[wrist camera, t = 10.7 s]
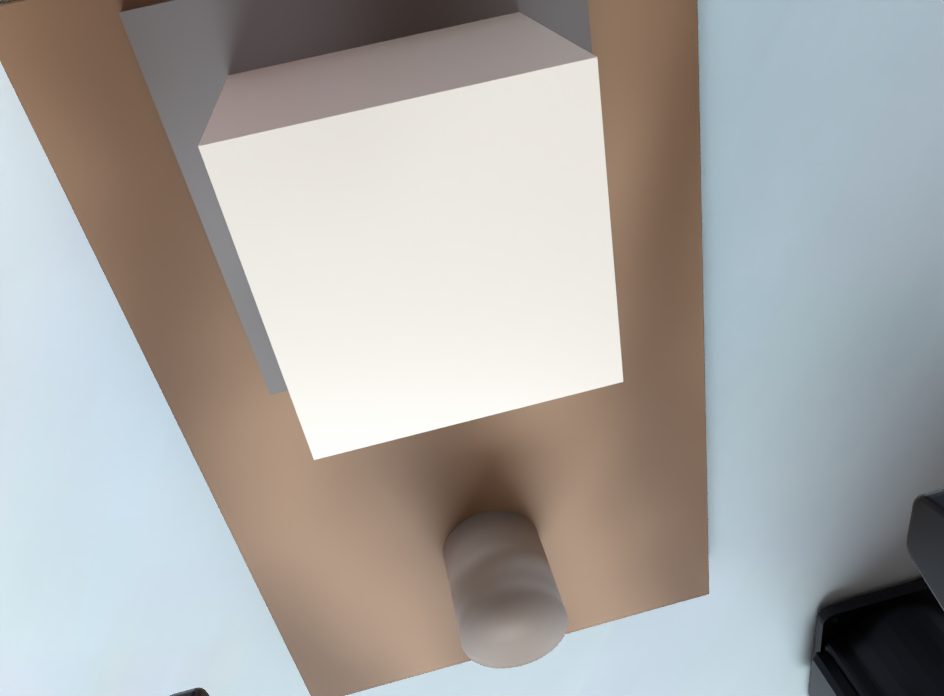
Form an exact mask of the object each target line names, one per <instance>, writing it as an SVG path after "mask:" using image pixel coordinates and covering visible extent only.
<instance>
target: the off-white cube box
mask: <svg viewBox="0 0 944 696" xmlns="http://www.w3.org/2000/svg"><path fill="white" fill-rule="evenodd" d="M198 148H199V150H200V153H201V156H202V158H203V161H204V164H205V167H206V169H207V172H208V175H209V177H210V180H211V183H212V185H213V188H214V191H215V194H216V196H217V199H218V202H219V204H220V207H221V210H222V213H223V215H224V218H225V221H226V223H227V226H228V229H229V231H230V234H231V237H232V240H233V242H234V245H235V248H236V250H237V253H238V256H239V259H240V261H241V264H242V267H243V269H244V272H245V275H246V277H247V280H248V283H249V286H250V288H251V291H252V294H253V296H254V299H255V302H256V305H257V307H258V310H259V313H260V315H261V318H262V321H263V323H264V326H265V329H266V332H267V334H268V337H269V340H270V342H271V345H272V348H273V351H274V353H275V356H276V359H277V361H278V364H279V367H280V369H281V372H282V375H283V378H284V380H285V383H286V386H287V388H288V391H289V394H290V397H291V399H292V402H293V405H294V407H295V410H296V413H297V415H298V418H299V421H300V424H301V426H302V429H303V432H304V434H305V437H306V440H307V443H308V445H309V448H310V451H311V453H312V456H313V459H314V460H316V459H320V458H324V457H328V456H332V455H336V454H340V453H344V452H348V451H352V450H356V449H360V448H364V447H368V446H372V445H376V444H380V443H384V442H388V441H392V440H396V439H399V438H403V437H407V436H411V435H415V434H419V433H423V432H427V431H431V430H435V429H439V428H443V427H447V426H451V425H455V424H459V423H463V422H467V421H471V420H475V419H479V418H482V417H486V416H490V415H494V414H498V413H502V412H506V411H510V410H514V409H518V408H522V407H526V406H530V405H534V404H538V403H542V402H546V401H550V400H554V399H558V398H562V397H565V396H569V395H573V394H577V393H581V392H585V391H589V390H593V389H597V388H601V387H605V386H609V385H613V384H617V383H621V382H623V370H622V358H621V345H620V333H619V320H618V308H617V296H616V283H615V271H614V258H613V246H612V233H611V221H610V209H609V196H608V184H607V171H606V159H605V146H604V134H603V122H602V109H601V97H600V84H599V72H598V59H597V57H596V56H595V55H593V54H591V53H590V52H588V51H586V50H584V49H583V48H581V47H579V46H577V45H576V44H574V43H572V42H571V41H569V40H567V39H565V38H564V37H562V36H560V35H558V34H557V33H555V32H553V31H551V30H550V29H548V28H546V27H545V26H543V25H541V24H539V23H538V22H536V21H534V20H532V19H531V18H529V17H527V16H526V15H524V14H522V13H520V12H516V13H512V14H507V15H503V16H498V17H493V18H489V19H484V20H480V21H475V22H471V23H466V24H461V25H457V26H452V27H448V28H443V29H439V30H434V31H429V32H425V33H420V34H416V35H411V36H407V37H402V38H397V39H393V40H388V41H384V42H379V43H374V44H370V45H365V46H361V47H356V48H352V49H347V50H342V51H338V52H333V53H329V54H324V55H320V56H315V57H310V58H306V59H301V60H297V61H292V62H287V63H283V64H278V65H274V66H269V67H265V68H260V69H255V70H251V71H246V72H242V73H237V74H233V75H228V77H227V79H226V82H225V84H224V86H223V89H222V91H221V94H220V96H219V98H218V101H217V103H216V105H215V108H214V110H213V112H212V115H211V117H210V119H209V122H208V124H207V127H206V129H205V131H204V134H203V136H202V138H201V141H200V143H199V145H198Z"/></svg>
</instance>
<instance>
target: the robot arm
mask: <svg viewBox="0 0 944 696" xmlns="http://www.w3.org/2000/svg"><path fill="white" fill-rule="evenodd" d="M907 548H908V551H909V554H910V556H911V559H912V560H913V562H914V564H915V566H916V567H917V569H918V570H919V572H920V574H921V575H922V577H923V578H924V579H923V580H920V581H916V582H913V583H909V584H906V585H902V586H898V587H895V588H891V589H888V590H884V591H881V592H877V593H874V594H870V595H867V596H863V597H860V598H856V599H852V600H849V601H845V602H842V603H838V604H835V605H831V606H828V607H826V608H824V609H823V610H822V611H821V612H820V613H819V614H818V616H817V624H816V634H815V645H814V655H813V658H812V663H811V673H810V684H809V696H944V489H940V490H937V491H933V492H929V493H925V494H922V495H919V496H918V497H917V498H916V499H915V500H914V502H913V506H912V512H911V518H910V524H909V530H908V535H907ZM170 696H209V694H208V693H207V692H206V690H204V689H202V688H194V689H190V690H187V691H183V692H179V693H175V694H173V695H170Z"/></svg>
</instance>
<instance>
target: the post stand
mask: <svg viewBox="0 0 944 696" xmlns="http://www.w3.org/2000/svg"><path fill="white" fill-rule="evenodd" d="M516 12H520V13H522V14H524V15H526V16H527V17H529V18H531V19H532V20H534V21H536V22H538V23H539V24H541V25H543V26H545V27H546V28H548V29H550V30H551V31H553V32H555V33H557V34H558V35H560V36H562V37H564V38H565V39H567V40H569V41H571V42H572V43H574V44H576V45H577V46H579V47H581V48H583V49H584V50H586V51H588V52H590V53H591V54H593V55H595V56H596V57H597V59H598V72H599V84H600V97H601V109H602V122H603V134H604V146H605V159H606V171H607V184H608V196H609V209H610V221H611V233H612V246H613V258H614V271H615V283H616V296H617V308H618V320H619V333H620V345H621V358H622V370H623V382H621V383H617V384H613V385H609V386H605V387H601V388H597V389H593V390H589V391H585V392H581V393H577V394H573V395H569V396H565V397H562V398H558V399H554V400H550V401H546V402H542V403H538V404H534V405H530V406H526V407H522V408H518V409H514V410H510V411H506V412H502V413H498V414H494V415H490V416H486V417H482V418H479V419H475V420H471V421H467V422H463V423H459V424H455V425H451V426H447V427H443V428H439V429H435V430H431V431H427V432H423V433H419V434H415V435H411V436H407V437H403V438H399V439H396V440H392V441H388V442H384V443H380V444H376V445H372V446H368V447H364V448H360V449H356V450H352V451H348V452H344V453H340V454H336V455H332V456H328V457H324V458H320V459H316V460H314V459H313V456H312V453H311V451H310V448H309V445H308V443H307V440H306V437H305V434H304V432H303V429H302V426H301V424H300V421H299V418H298V415H297V413H296V410H295V407H294V405H293V402H292V399H291V397H290V394H289V391H288V388H287V386H286V383H285V380H284V378H283V375H282V372H281V369H280V367H279V364H278V361H277V359H276V356H275V353H274V351H273V348H272V345H271V342H270V340H269V337H268V334H267V332H266V329H265V326H264V323H263V321H262V318H261V315H260V313H259V310H258V307H257V305H256V302H255V299H254V296H253V294H252V291H251V288H250V286H249V283H248V280H247V277H246V275H245V272H244V269H243V267H242V264H241V261H240V259H239V256H238V253H237V250H236V248H235V245H234V242H233V240H232V237H231V234H230V231H229V229H228V226H227V223H226V221H225V218H224V215H223V213H222V210H221V207H220V204H219V202H218V199H217V196H216V194H215V191H214V188H213V185H212V183H211V180H210V177H209V175H208V172H207V169H206V167H205V164H204V161H203V158H202V156H201V153H200V150H199V148H198V145H199V143H200V141H201V138H202V136H203V134H204V131H205V129H206V127H207V124H208V122H209V119H210V117H211V115H212V112H213V110H214V108H215V105H216V103H217V101H218V98H219V96H220V94H221V91H222V89H223V86H224V84H225V82H226V79H227V77H228V75H233V74H237V73H242V72H246V71H251V70H255V69H260V68H265V67H269V66H274V65H278V64H283V63H287V62H292V61H297V60H301V59H306V58H310V57H315V56H320V55H324V54H329V53H333V52H338V51H342V50H347V49H352V48H356V47H361V46H365V45H370V44H374V43H379V42H384V41H388V40H393V39H397V38H402V37H407V36H411V35H416V34H420V33H425V32H429V31H434V30H439V29H443V28H448V27H452V26H457V25H461V24H466V23H471V22H475V21H480V20H484V19H489V18H493V17H498V16H503V15H507V14H512V13H516ZM0 61H1V63H2V65H3V67H4V69H5V71H6V74H7V76H8V78H9V80H10V82H11V84H12V86H13V88H14V90H15V92H16V94H17V96H18V98H19V100H20V102H21V104H22V106H23V108H24V110H25V112H26V114H27V116H28V118H29V121H30V123H31V125H32V127H33V129H34V131H35V133H36V135H37V137H38V139H39V141H40V143H41V145H42V147H43V149H44V151H45V153H46V155H47V157H48V159H49V161H50V163H51V166H52V168H53V170H54V172H55V174H56V176H57V178H58V180H59V182H60V184H61V186H62V188H63V190H64V192H65V194H66V196H67V198H68V200H69V202H70V204H71V206H72V208H73V210H74V213H75V215H76V217H77V219H78V221H79V223H80V225H81V227H82V229H83V231H84V233H85V235H86V237H87V239H88V241H89V243H90V245H91V247H92V249H93V251H94V253H95V255H96V257H97V260H98V262H99V264H100V266H101V268H102V270H103V272H104V274H105V276H106V278H107V280H108V282H109V284H110V286H111V288H112V290H113V292H114V294H115V296H116V298H117V300H118V302H119V305H120V307H121V309H122V311H123V313H124V315H125V317H126V319H127V321H128V323H129V325H130V327H131V329H132V331H133V333H134V335H135V337H136V339H137V341H138V343H139V345H140V347H141V349H142V352H143V354H144V356H145V358H146V360H147V362H148V364H149V366H150V368H151V370H152V372H153V374H154V376H155V378H156V380H157V382H158V384H159V386H160V388H161V390H162V392H163V394H164V396H165V399H166V401H167V403H168V405H169V407H170V409H171V411H172V413H173V415H174V417H175V419H176V421H177V423H178V425H179V427H180V429H181V431H182V433H183V435H184V437H185V439H186V441H187V444H188V446H189V448H190V450H191V452H192V454H193V456H194V458H195V460H196V462H197V464H198V466H199V468H200V470H201V472H202V474H203V476H204V478H205V480H206V482H207V484H208V486H209V488H210V491H211V493H212V495H213V497H214V499H215V501H216V503H217V505H218V507H219V509H220V511H221V513H222V515H223V517H224V519H225V521H226V523H227V525H228V527H229V529H230V531H231V533H232V535H233V538H234V540H235V542H236V544H237V546H238V548H239V550H240V552H241V554H242V556H243V558H244V560H245V562H246V564H247V566H248V568H249V570H250V572H251V574H252V576H253V578H254V580H255V583H256V585H257V587H258V589H259V591H260V593H261V595H262V597H263V599H264V601H265V603H266V605H267V607H268V609H269V611H270V613H271V615H272V617H273V619H274V621H275V623H276V625H277V627H278V630H279V632H280V634H281V636H282V638H283V640H284V642H285V644H286V646H287V648H288V650H289V652H290V654H291V656H292V658H293V660H294V662H295V664H296V666H297V668H298V670H299V672H300V675H301V677H302V679H303V681H304V683H305V685H306V687H307V689H308V691H309V693H310V695H311V696H345V695H349V694H352V693H356V692H359V691H363V690H367V689H370V688H374V687H377V686H381V685H384V684H388V683H392V682H395V681H399V680H402V679H406V678H410V677H413V676H417V675H420V674H424V673H427V672H431V671H435V670H438V669H442V668H445V667H449V666H453V665H456V664H460V663H463V662H467V661H470V660H472V661H474V662H476V663H478V664H480V665H483V666H486V667H491V668H512V667H518V666H522V665H525V664H528V663H531V662H533V661H536V660H538V659H540V658H541V657H543V656H545V655H546V654H548V653H549V652H550V651H552V650H553V649H554V648H555V647H556V646H557V645H558V644H559V643H560V641H561V640H562V638H563V637H564V635H565V634H567V633H571V632H574V631H578V630H582V629H585V628H589V627H592V626H596V625H599V624H603V623H607V622H610V621H614V620H617V619H621V618H625V617H628V616H632V615H635V614H639V613H642V612H646V611H650V610H653V609H657V608H660V607H664V606H668V605H671V604H675V603H678V602H682V601H685V600H689V599H693V598H696V597H700V596H703V595H707V594H709V564H708V514H707V464H706V414H705V364H704V313H703V263H702V213H701V163H700V113H699V63H698V12H697V0H13V1H8V2H4V3H0Z"/></svg>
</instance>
